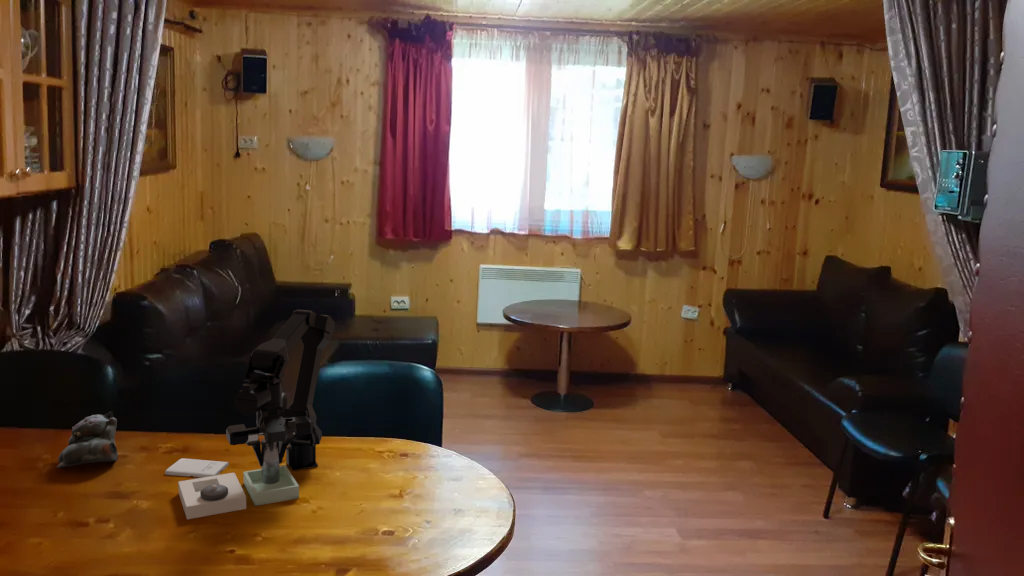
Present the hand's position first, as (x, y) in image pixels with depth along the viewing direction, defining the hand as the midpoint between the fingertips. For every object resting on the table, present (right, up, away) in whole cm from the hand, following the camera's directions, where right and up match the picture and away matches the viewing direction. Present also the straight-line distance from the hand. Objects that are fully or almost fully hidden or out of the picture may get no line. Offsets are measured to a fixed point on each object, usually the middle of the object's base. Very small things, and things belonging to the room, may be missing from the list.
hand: (270, 464), depth 190 cm
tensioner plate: (-12, -7, -5) cm, 15 cm away
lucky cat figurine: (-49, -3, +13) cm, 51 cm away
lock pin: (0, -4, +1) cm, 4 cm away
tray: (0, -6, +1) cm, 7 cm away
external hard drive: (-22, -5, +11) cm, 25 cm away
